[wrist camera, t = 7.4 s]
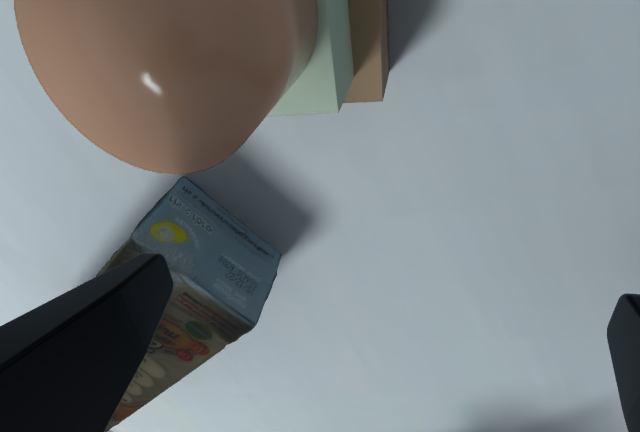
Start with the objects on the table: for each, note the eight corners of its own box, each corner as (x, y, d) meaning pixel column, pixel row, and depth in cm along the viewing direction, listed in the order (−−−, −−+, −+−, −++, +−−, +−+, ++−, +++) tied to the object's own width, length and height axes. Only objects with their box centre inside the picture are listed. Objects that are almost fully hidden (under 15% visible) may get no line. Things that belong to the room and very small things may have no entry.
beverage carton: (292, 255, 26) (258, 343, 21) (150, 366, 36) (103, 443, 31) (185, 168, 24) (116, 240, 18) (67, 312, 34) (0, 385, 29)
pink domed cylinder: (308, -108, 10) (237, -128, 6) (324, 101, 12) (281, 176, 9) (121, -86, 11) (-38, -91, 7) (173, 103, 13) (77, 171, 10)
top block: (337, -117, 12) (311, -129, 9) (354, 77, 15) (338, 112, 12) (166, -86, 14) (98, -87, 11) (212, 87, 16) (168, 122, 14)
